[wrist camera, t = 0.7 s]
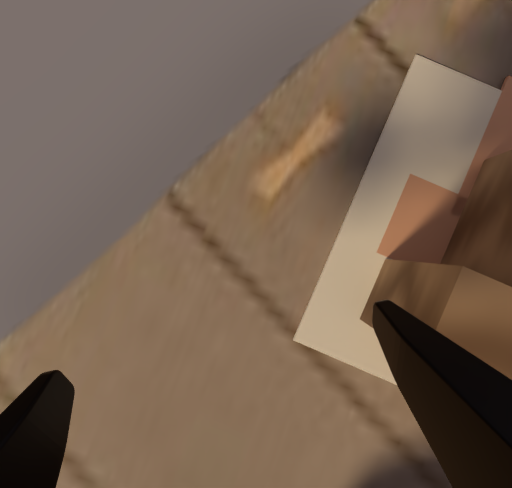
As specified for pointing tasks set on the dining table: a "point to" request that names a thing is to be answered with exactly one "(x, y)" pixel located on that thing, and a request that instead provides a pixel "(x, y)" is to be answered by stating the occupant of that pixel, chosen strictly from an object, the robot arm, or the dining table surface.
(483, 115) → the mat
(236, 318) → the dining table surface
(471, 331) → the t block
